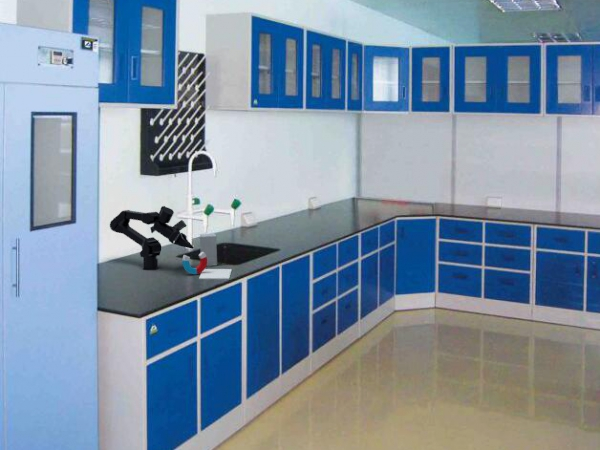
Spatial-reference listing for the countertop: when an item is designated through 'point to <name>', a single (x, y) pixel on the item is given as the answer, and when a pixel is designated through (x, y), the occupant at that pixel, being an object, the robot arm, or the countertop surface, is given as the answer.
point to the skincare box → (209, 248)
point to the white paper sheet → (215, 274)
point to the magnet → (198, 269)
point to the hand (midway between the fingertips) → (191, 247)
